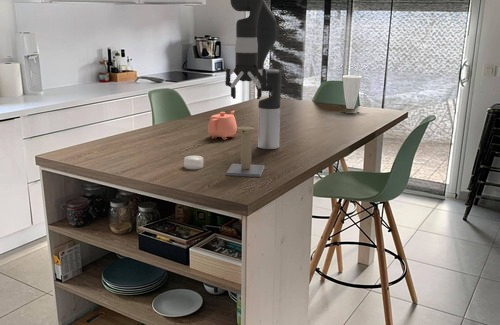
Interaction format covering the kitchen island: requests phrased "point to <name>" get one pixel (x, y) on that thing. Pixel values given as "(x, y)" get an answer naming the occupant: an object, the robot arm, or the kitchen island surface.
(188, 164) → the white dome knob
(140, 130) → the kitchen island surface
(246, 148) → the handle
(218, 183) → the kitchen island surface
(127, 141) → the kitchen island surface
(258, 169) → the coaster
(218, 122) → the teapot
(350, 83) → the cup
